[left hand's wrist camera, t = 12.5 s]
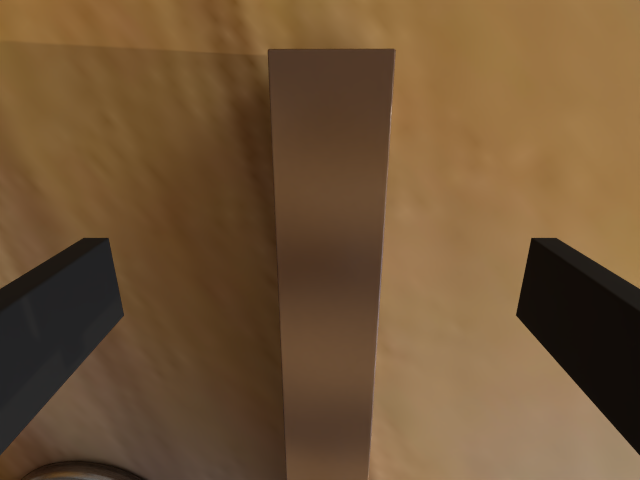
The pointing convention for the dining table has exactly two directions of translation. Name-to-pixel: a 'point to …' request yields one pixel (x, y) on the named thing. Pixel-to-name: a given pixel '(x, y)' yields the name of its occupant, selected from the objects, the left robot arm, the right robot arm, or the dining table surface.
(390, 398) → the dining table surface
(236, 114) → the dining table surface
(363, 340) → the post
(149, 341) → the dining table surface
